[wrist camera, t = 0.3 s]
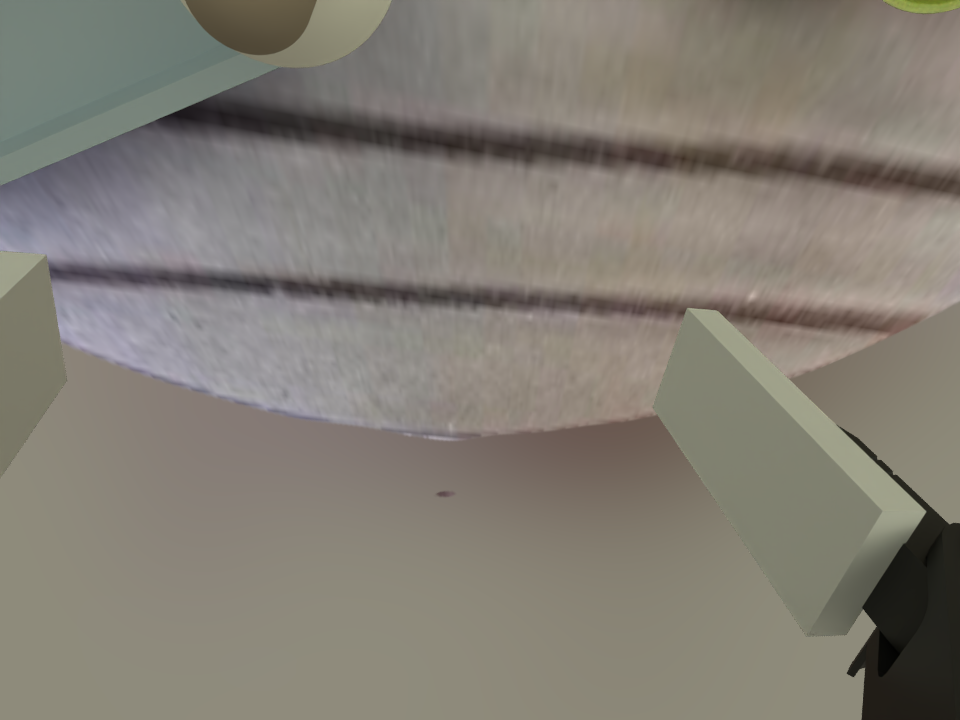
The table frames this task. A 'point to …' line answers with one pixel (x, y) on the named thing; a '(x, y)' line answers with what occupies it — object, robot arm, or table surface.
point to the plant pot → (924, 5)
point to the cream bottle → (290, 27)
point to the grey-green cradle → (100, 73)
